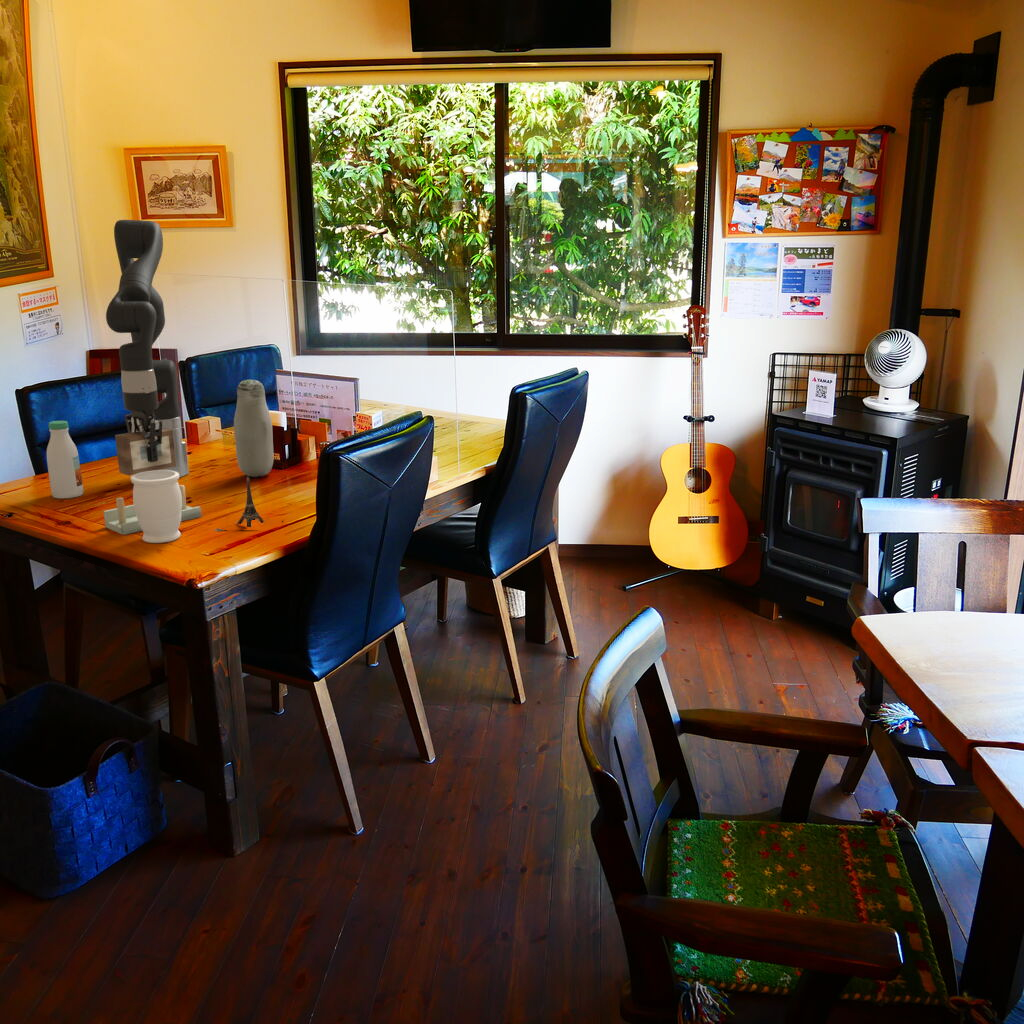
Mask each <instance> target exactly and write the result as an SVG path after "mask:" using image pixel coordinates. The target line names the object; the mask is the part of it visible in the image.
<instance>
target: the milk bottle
mask: <svg viewBox="0 0 1024 1024" xmlns="http://www.w3.org/2000/svg"><path fill="white" fill-rule="evenodd" d="M48 429H49V432H50V438H49V441H48V444H47V446H46V447H47V448H46V462H47V463H46V464H47V470H48V477H49V484H50V491H51V495H52V498H55V499H64V500H65V499H74V498H77V497H81V496H82V495H84V486H83V484H84V483H83V478H82V471H81V464H80V463H81V462H80V458H79V457H80V456H79V452H78V449H77V446H76V444H75V443H74V441H73V440H72V437H71V436H70V434H69V422H68V420H53V421H50V422H48Z"/></svg>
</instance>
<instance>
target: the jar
mask: <svg viewBox="0 0 1024 1024" xmlns="http://www.w3.org/2000/svg"><path fill="white" fill-rule="evenodd" d="M179 479H180V477H179V473H178V472H176V471H171V470H153V471H146V472H141V473H137V474H135V475H130V482H131V484H133V487H132V502H133V504H132V505H134V509H135V513H136V516H137V519H138V523H139V525H140V527H141V529H142V531H141V532H143V535H142V538H141V539H142V540H143V541H144V542H145V543H149V544H150V543H151V544H162V543H169V542H172V541H176V540H177V539H179V538H180V537H181V535H182V534H181V531H180V530H179V528H180V525H181V523H182V521H181V510H182V496H181V490H180V487H179V485H180V484H179V482H178V480H179Z"/></svg>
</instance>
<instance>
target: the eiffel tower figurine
mask: <svg viewBox="0 0 1024 1024" xmlns="http://www.w3.org/2000/svg"><path fill="white" fill-rule="evenodd" d="M247 475H248V473H247ZM247 475H246V476H247ZM245 479H246V503H245V507H244V512H242V516H241V517H240V518H239V520H238V521H237V523H236V524H241V523H243V522H244V520H246V522H247V527H251V521H252V520H255V519H256V520H257V521H260V522H261V523H263V522H265V521H264V519H263V518H262V517H261V516H260V513H259V511H258V512H257V510H256V507H255V503H254V501H253V495H252V491H251V485H250V484H251V483H250V479H251V478H250V476H247V477H246V478H245ZM222 530H223V529H222ZM222 530H220V529H219V528H216V529H214V532H219V531H220V532H225V531H224V530H223V531H222Z"/></svg>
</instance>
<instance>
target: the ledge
mask: <svg viewBox="0 0 1024 1024" xmlns="http://www.w3.org/2000/svg"><path fill="white" fill-rule="evenodd" d="M179 487H180V490H181V496H182V510H181V522H183V521H189V520H193V519H196V518H197V519H198V518H201V517H202V509H201V506H194V507H192V506H189V505H187V500H186V499H187V498H186V487H185V485H184V484H179ZM124 499H125V498H124V497H117V498H116V499H115V501H116V508H111V509H107V510H103V517H104V526H105V528H107V529H109V530H111V531H114V532H116V533H118V534H121V535H123V536H125V535H129V534H134V533H138V532H143V531H142V529H141V527H140V525H139V523H138V519H137V516H136V513H135V509H134V504H130V505H126V506H125V500H124Z"/></svg>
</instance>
